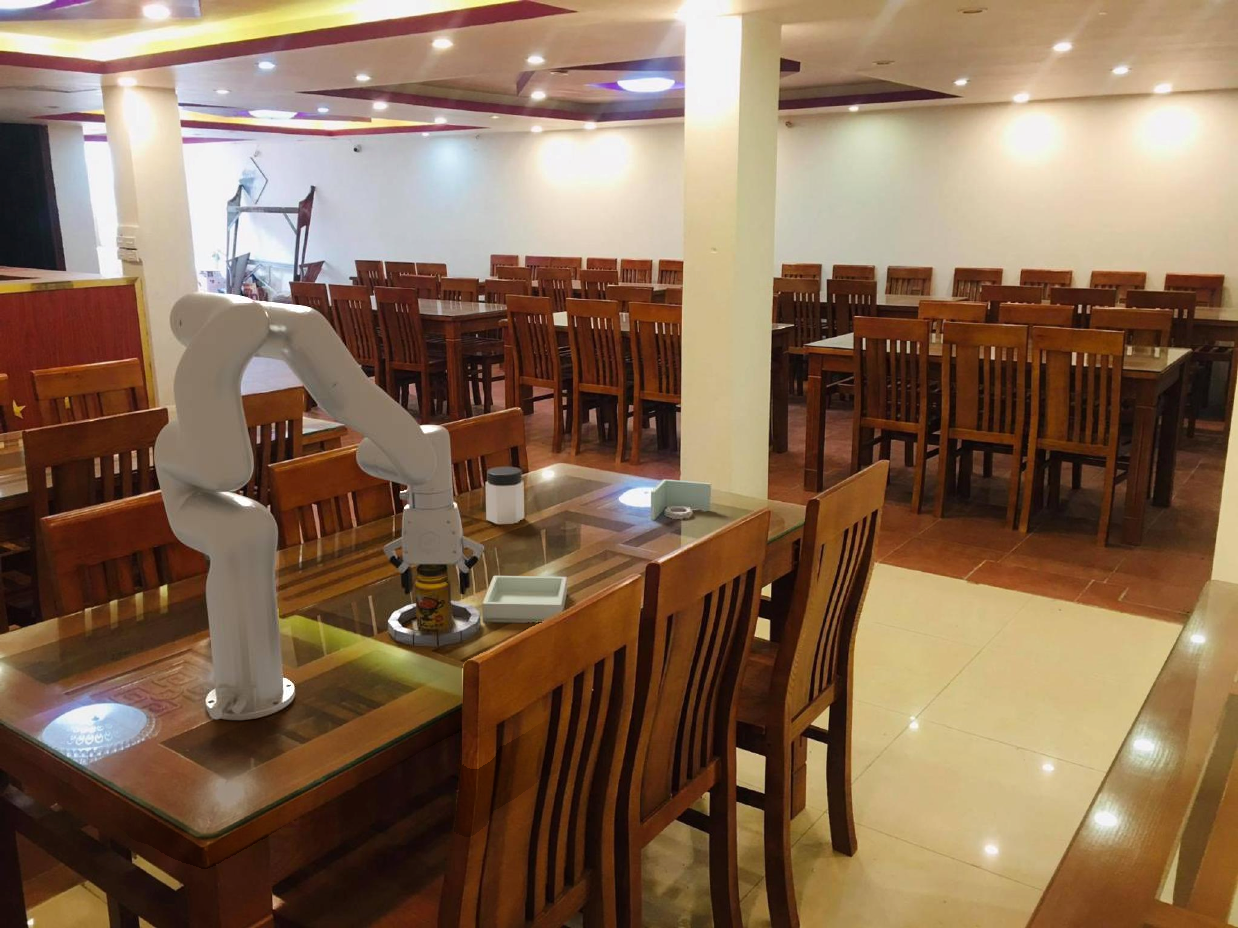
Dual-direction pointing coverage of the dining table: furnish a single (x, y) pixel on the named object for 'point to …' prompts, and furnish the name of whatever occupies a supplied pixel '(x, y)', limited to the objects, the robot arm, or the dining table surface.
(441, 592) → the condiment
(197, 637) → the dining table surface
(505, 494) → the jar
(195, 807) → the dining table surface
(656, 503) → the right angle wall
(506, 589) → the bin
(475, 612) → the collar
